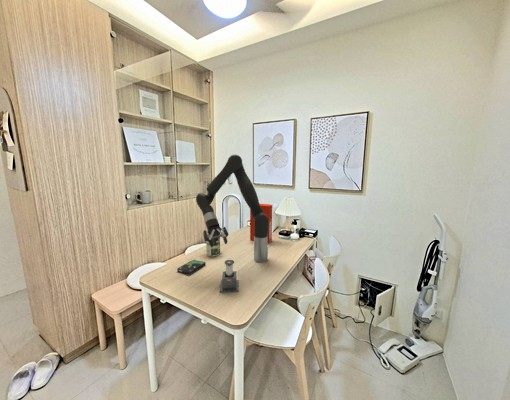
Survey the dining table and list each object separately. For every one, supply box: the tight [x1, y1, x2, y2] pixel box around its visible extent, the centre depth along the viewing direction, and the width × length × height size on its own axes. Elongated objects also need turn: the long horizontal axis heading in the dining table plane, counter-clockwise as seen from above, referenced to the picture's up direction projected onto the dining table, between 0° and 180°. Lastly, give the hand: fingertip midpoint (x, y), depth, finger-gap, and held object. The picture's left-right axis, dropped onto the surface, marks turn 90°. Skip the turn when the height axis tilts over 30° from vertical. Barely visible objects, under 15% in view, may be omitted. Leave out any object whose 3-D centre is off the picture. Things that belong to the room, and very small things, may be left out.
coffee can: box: [205, 233, 221, 257], centre depth 156 cm, size 10×10×14 cm
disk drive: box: [176, 259, 207, 277], centre depth 134 cm, size 10×3×15 cm
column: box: [224, 259, 235, 277], centre depth 113 cm, size 5×5×13 cm
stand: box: [219, 270, 240, 294], centre depth 114 cm, size 10×10×7 cm
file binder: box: [249, 203, 273, 244], centre depth 182 cm, size 8×17×32 cm, turn 67°
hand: (219, 245), depth 121 cm, fingers open, 8 cm apart
